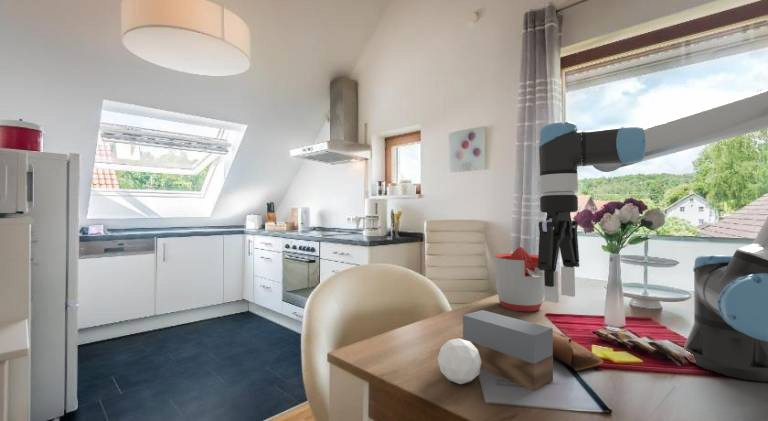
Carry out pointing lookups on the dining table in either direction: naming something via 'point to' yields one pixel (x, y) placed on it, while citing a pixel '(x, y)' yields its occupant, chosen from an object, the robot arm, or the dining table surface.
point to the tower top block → (509, 335)
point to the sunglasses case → (573, 353)
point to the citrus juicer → (519, 281)
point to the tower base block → (516, 368)
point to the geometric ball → (459, 361)
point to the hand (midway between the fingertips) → (560, 298)
